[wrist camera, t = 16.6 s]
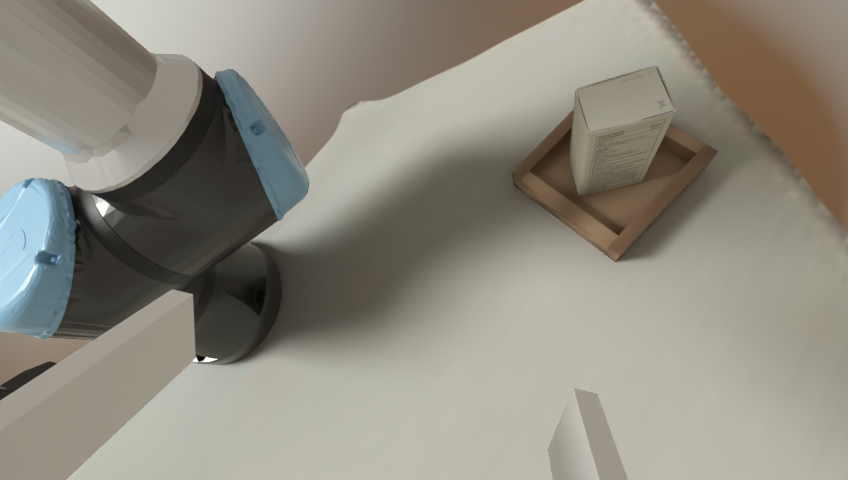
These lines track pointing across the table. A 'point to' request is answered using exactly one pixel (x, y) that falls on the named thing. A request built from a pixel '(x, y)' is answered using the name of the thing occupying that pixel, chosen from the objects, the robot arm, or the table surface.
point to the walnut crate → (615, 208)
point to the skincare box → (618, 129)
